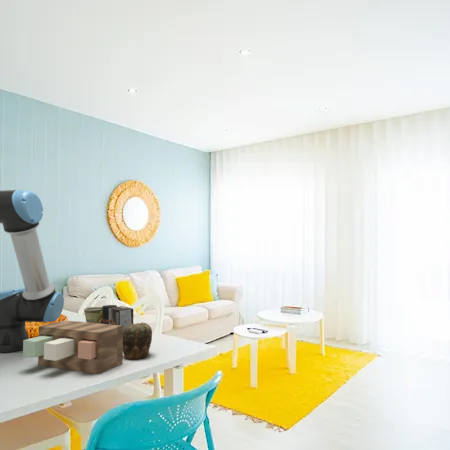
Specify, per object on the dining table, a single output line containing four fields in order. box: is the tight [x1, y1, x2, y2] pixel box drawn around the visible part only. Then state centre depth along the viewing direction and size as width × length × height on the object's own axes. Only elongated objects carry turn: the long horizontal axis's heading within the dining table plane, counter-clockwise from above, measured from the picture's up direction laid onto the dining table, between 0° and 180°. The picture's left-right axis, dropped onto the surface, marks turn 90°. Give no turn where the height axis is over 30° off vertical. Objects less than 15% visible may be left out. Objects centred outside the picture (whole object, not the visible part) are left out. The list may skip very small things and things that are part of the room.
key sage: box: [22, 335, 54, 359], centre depth 134 cm, size 5×9×5 cm, turn 157°
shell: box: [123, 322, 153, 361], centre depth 148 cm, size 11×11×12 cm
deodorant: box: [101, 304, 118, 324], centre depth 171 cm, size 6×6×15 cm
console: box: [37, 319, 124, 375], centre depth 138 cm, size 26×12×13 cm, turn 67°
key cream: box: [44, 337, 75, 361], centre depth 130 cm, size 5×9×5 cm, turn 157°
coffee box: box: [109, 305, 134, 333], centre depth 159 cm, size 9×6×16 cm
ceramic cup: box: [83, 306, 102, 324], centre depth 196 cm, size 13×10×10 cm
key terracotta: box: [78, 339, 97, 360], centre depth 131 cm, size 5×9×5 cm, turn 157°
